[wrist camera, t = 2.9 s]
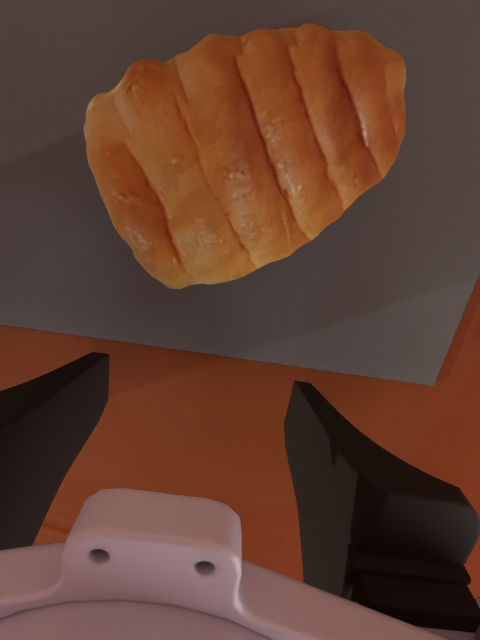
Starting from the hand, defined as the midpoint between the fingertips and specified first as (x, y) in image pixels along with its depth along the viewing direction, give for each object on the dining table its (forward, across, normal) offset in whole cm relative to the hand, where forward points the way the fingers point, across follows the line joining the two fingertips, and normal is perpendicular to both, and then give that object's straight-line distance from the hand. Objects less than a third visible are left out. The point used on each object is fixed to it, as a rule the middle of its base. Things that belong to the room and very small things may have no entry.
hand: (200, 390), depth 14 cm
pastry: (+2, 0, -8) cm, 8 cm away
